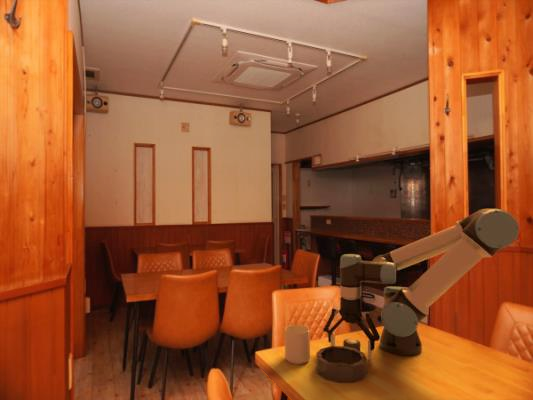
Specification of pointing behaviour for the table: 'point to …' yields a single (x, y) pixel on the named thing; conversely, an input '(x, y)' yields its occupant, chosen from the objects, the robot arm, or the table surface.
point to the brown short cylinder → (352, 343)
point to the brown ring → (341, 372)
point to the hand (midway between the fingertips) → (350, 355)
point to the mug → (297, 344)
